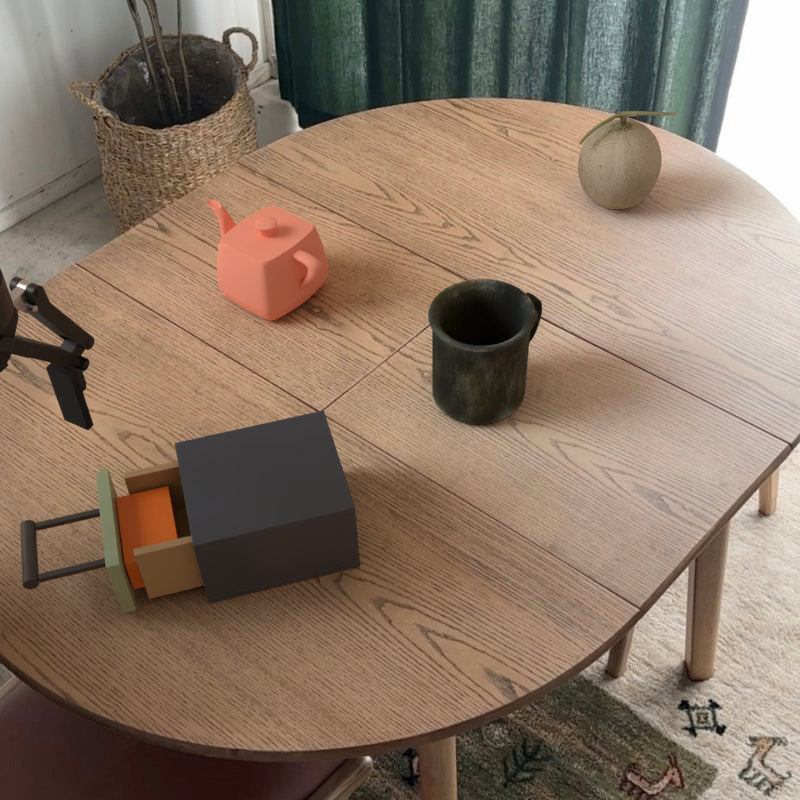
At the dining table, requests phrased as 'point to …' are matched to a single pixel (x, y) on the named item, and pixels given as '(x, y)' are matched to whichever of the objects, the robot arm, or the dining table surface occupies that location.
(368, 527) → the dining table surface
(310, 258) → the teapot
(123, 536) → the orange gripped block
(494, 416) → the mug
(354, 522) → the cabinet
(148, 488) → the drawer
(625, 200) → the fruit
